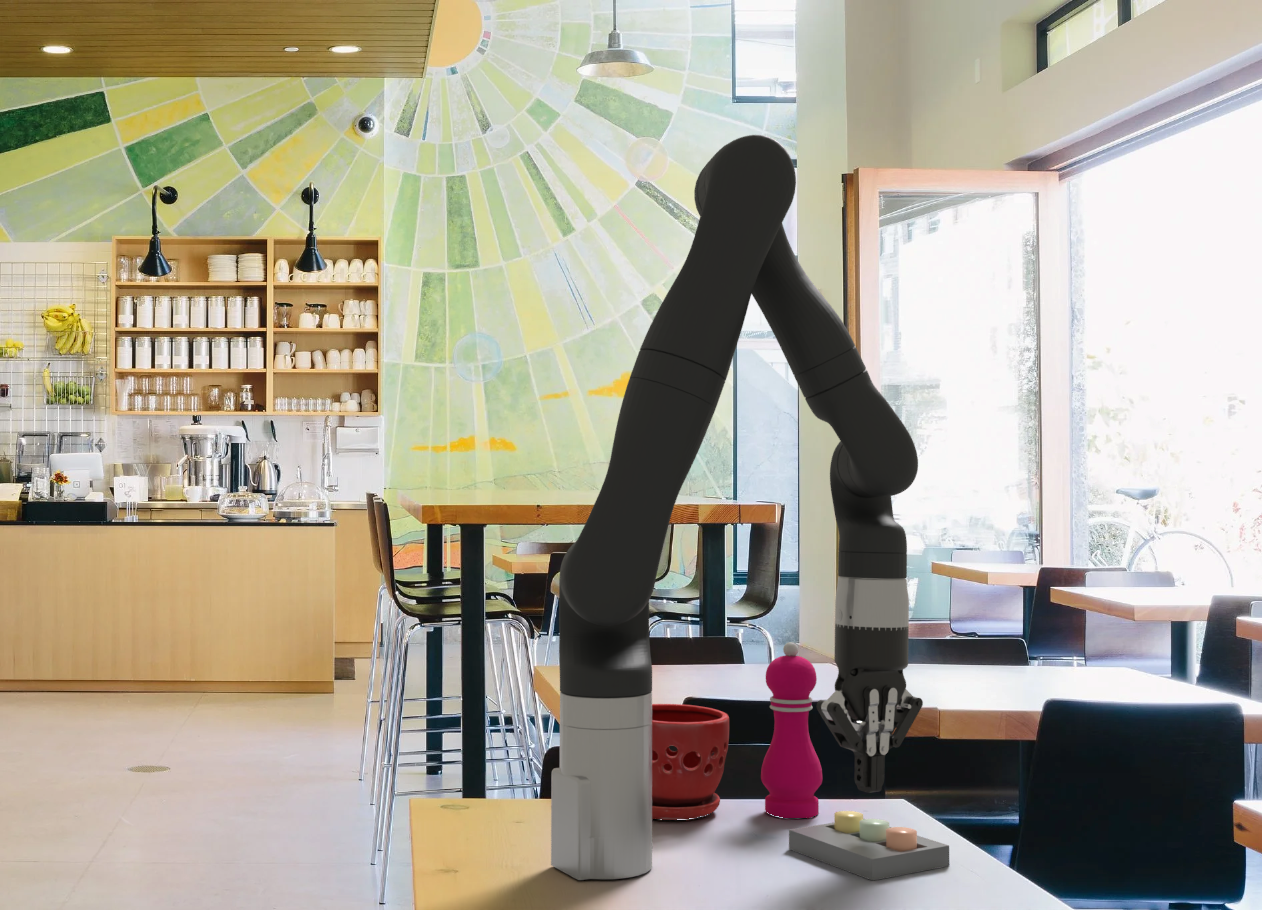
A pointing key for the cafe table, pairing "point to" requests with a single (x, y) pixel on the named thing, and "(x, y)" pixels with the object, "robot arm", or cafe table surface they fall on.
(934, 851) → the panel
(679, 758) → the plant pot
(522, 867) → the cafe table surface
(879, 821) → the sage button
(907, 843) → the terracotta button
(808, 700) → the pepper mill
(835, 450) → the robot arm
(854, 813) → the ochre button
